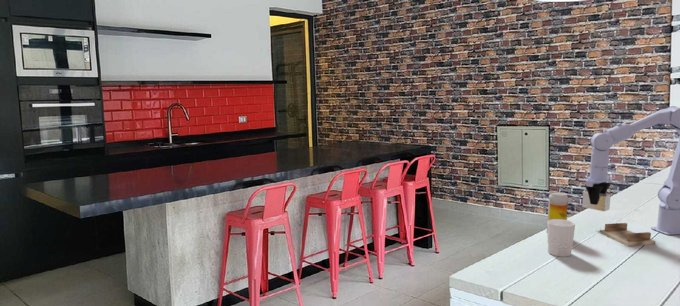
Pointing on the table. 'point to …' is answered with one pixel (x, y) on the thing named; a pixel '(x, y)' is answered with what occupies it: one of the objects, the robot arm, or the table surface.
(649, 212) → the table surface
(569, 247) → the white cup
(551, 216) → the beer can
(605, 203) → the aluminium block
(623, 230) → the birch cradle
